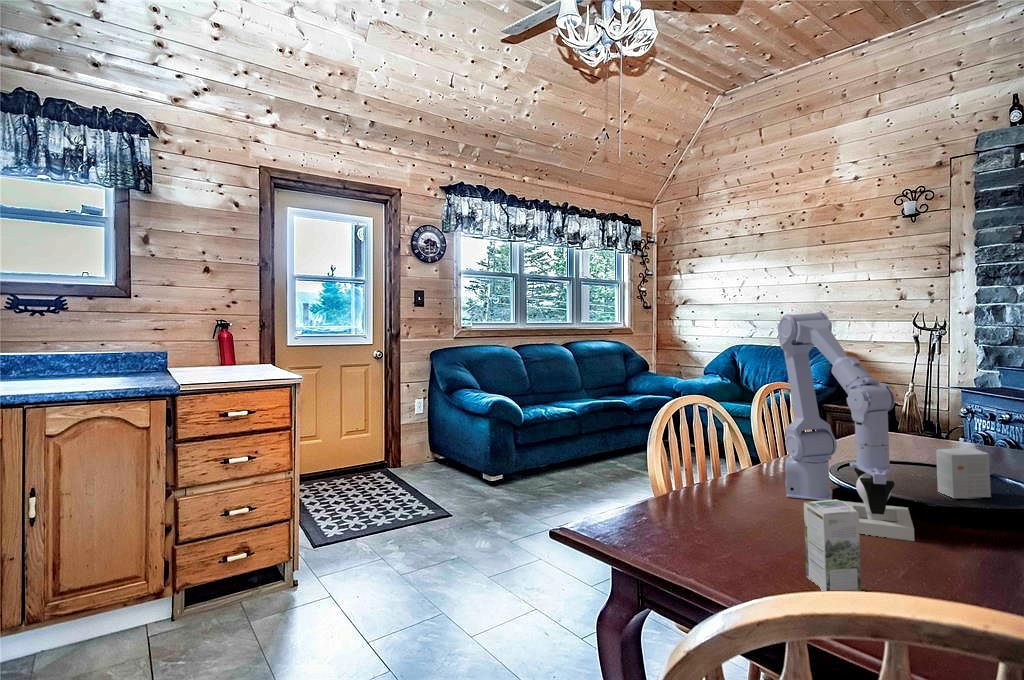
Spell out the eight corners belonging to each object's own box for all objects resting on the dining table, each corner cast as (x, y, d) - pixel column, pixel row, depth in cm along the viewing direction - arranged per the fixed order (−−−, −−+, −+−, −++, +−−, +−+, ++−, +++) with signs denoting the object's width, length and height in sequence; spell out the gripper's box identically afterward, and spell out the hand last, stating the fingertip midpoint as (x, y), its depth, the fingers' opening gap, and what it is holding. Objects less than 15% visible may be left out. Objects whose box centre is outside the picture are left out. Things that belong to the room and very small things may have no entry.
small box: (973, 491, 129) (971, 447, 128) (991, 499, 123) (990, 453, 123) (936, 492, 130) (935, 448, 129) (953, 500, 124) (951, 454, 124)
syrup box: (839, 582, 92) (835, 497, 91) (863, 600, 86) (859, 509, 86) (805, 585, 92) (801, 500, 91) (827, 604, 86) (823, 512, 85)
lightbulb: (882, 533, 110) (879, 479, 109) (851, 524, 115) (849, 472, 114) (899, 526, 112) (897, 473, 112) (868, 517, 118) (866, 466, 117)
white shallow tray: (841, 532, 112) (840, 520, 111) (841, 512, 122) (841, 501, 122) (914, 541, 105) (913, 528, 105) (908, 519, 116) (907, 507, 115)
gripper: (844, 434, 121) (846, 495, 122) (854, 451, 108) (857, 519, 108) (882, 435, 118) (884, 497, 119) (897, 452, 105) (900, 522, 106)
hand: (874, 508), depth 113 cm, fingers closed on lightbulb, 6 cm apart
